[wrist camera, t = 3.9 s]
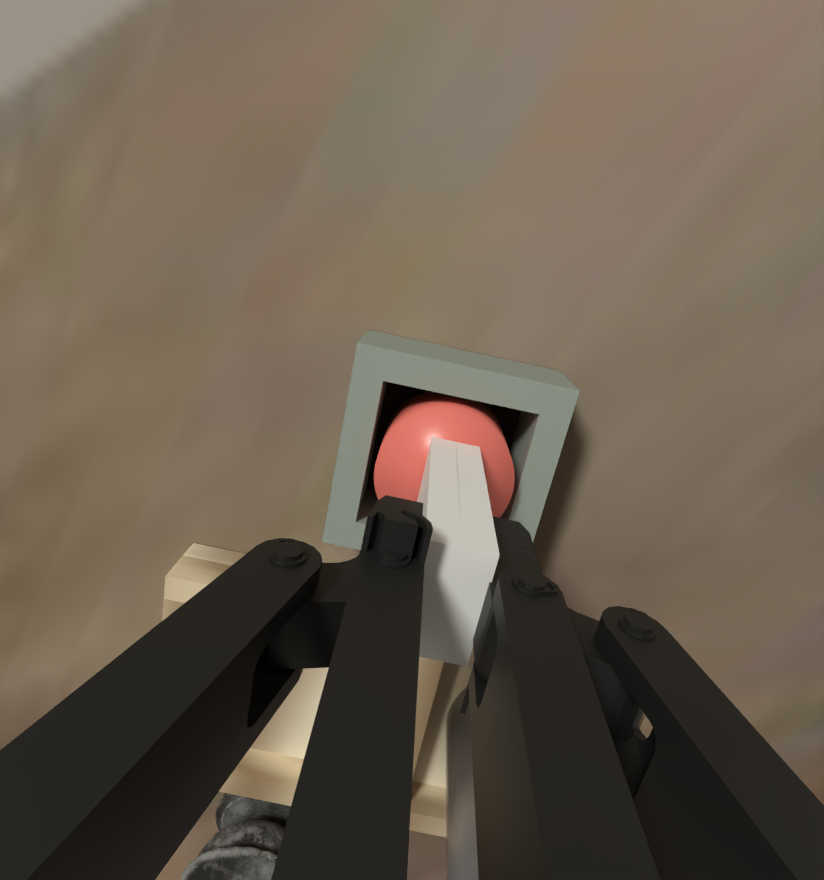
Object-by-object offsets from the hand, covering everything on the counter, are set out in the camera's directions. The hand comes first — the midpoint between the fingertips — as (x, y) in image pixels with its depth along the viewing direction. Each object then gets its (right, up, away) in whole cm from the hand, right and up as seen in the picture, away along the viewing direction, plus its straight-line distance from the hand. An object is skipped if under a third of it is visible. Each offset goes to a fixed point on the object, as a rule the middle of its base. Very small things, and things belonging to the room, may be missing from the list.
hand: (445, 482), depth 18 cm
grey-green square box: (0, +1, +4) cm, 4 cm away
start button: (0, +1, +3) cm, 3 cm away
